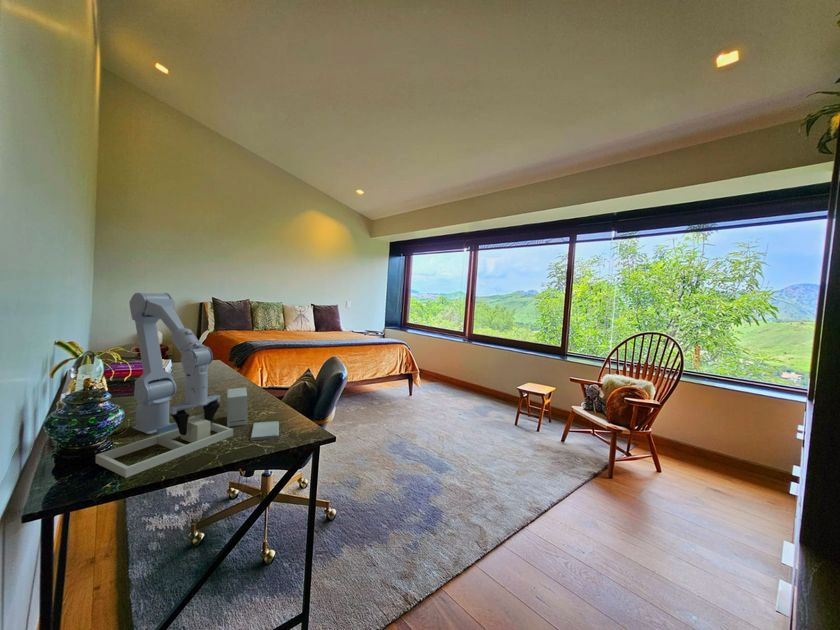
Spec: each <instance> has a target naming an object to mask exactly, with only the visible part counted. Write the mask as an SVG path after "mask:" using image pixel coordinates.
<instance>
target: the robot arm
mask: <svg viewBox="0 0 840 630" xmlns="http://www.w3.org/2000/svg"><path fill="white" fill-rule="evenodd" d="M128 302H129V304H128V305H129V309H130V314H131V320H133V321H134V324H135V328H136V329H135V330H136V336H137V341H138V346H139V347H138V349H139V354H140V359H141V365H142V372H143V373H142V374H141V375H139V377H138V378H137V379H136V380H135V381H134V392H133V394H134V395H133V396H134V399H135V400H136V402H137V405H136V407H135V425H134V426H131V427H132V428H131V429H133V430H136V431H139V432H142V433H144V434H146V435H152V434H155V433H157V428H159V427H162V426H165V425H169V424H172V423H171V422H170V416H171V417H172V419H173V420H174V421H175V422H176V424H177V426H178V429H179V433H180V434H181V435H186V433H187V422H188V418H189V417H190V414H189V413H187V412H186V411H188V410H191V409H194V408H198V407H202V408H203V414H204V415H203V419H205V420H208V421H211V423H210V426H211V424H212V422H213V420H214V418H215V415H216V413H217V411H218V409H219V408H220V407H221V406H220V404H221V403H220V402H221V397H222V396H221V395H219V394H213V395H208V380H209V378H208V377H209V376H208V375H209V365H210V364H211V363H212V362H213V358H214V355H213V352H212V350H211V348H210V347H209V346H206V345H205V344H201V342H200V341H199V339H198V338H197V336H196V334H194V331H192V330H191V328H185V326H184V324H183V322H182V321H181V319H180V317H179V315H178V314H177V312H176V310H175V306H176V301H175V300H174V298H173V296H172V295H171V294H170V293H168V292H165V293H164V292H163V293H153V292H152V293H151V292H150V293H148V292H146V293H144V292H135V293H133V295H132V296H131V298H130V300H129V301H128ZM159 320H160V321H162V322H163V324H164V325H165V326H166V327H167V329H168V330H169V331H170V332H171V333H172V335H171V338H170V339H171V341H172V343H173V344H174V345H175V347H176V348H177V349H178V351H179V353H180V355H181V357H180V362H181V364H182V367H183V368H182V369H183V373H184V374H185V385H184V387H185V391H184V392H185V393H184V394H185V395H184V400H183V401H182V402H179V403H177V404H174V405H171V406H170V400H173V396H175V394H176V393H177V384H176V382H175V380H174V378H173V374H172V373H171V372H169V371H166V369H164V364H163V359H162V350H161V345H160V339H159V334H158V333H159V332H158V328H157V327H158V326H157V324H158V322H159ZM175 422H174V423H175Z"/></svg>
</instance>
